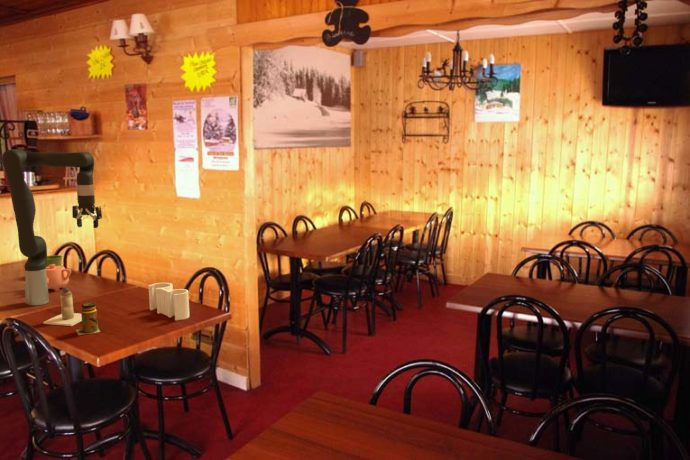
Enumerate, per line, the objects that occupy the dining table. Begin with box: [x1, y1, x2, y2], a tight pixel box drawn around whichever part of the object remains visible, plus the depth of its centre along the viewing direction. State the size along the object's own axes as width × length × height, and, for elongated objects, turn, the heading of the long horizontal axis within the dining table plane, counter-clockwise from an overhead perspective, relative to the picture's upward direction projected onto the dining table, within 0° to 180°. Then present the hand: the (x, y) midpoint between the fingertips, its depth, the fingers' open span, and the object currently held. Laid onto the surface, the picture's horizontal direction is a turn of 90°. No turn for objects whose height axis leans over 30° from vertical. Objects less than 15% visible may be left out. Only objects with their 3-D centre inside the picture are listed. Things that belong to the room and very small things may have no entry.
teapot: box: [46, 264, 72, 292], centre depth 305 cm, size 16×17×14 cm
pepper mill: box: [59, 287, 75, 320], centre depth 255 cm, size 5×5×14 cm
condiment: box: [75, 302, 101, 336], centre depth 241 cm, size 7×8×12 cm
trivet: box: [42, 312, 82, 327], centre depth 256 cm, size 14×14×1 cm
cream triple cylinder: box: [148, 282, 190, 321], centre depth 266 cm, size 25×10×12 cm, turn 46°
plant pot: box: [46, 254, 63, 267], centre depth 332 cm, size 12×12×11 cm
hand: (87, 227), depth 275 cm, fingers open, 8 cm apart
